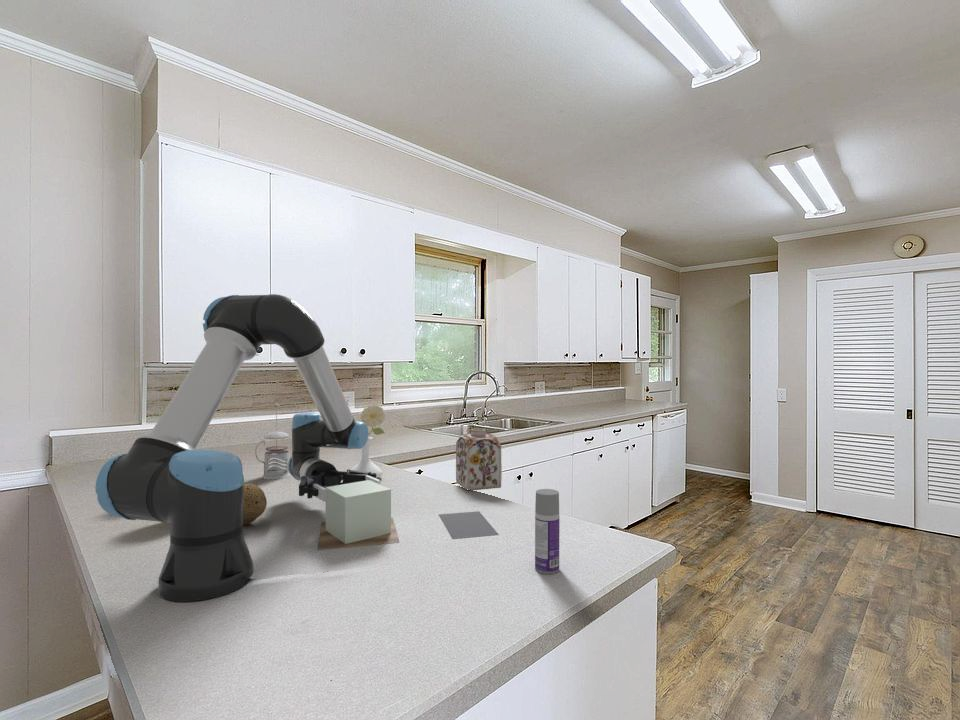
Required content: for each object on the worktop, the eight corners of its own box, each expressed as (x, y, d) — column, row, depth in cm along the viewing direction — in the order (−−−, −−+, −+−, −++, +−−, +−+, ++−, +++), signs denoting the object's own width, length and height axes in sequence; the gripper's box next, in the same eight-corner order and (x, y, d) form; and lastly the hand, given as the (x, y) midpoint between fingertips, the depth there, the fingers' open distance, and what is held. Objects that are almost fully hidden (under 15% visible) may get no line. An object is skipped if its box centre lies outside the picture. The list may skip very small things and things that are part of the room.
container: (556, 564, 100) (557, 488, 100) (561, 574, 95) (561, 495, 95) (533, 564, 100) (533, 488, 100) (536, 574, 95) (537, 495, 95)
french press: (292, 478, 170) (292, 404, 170) (254, 481, 166) (254, 405, 166) (291, 471, 180) (291, 401, 179) (255, 474, 175) (255, 402, 175)
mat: (498, 536, 115) (498, 534, 115) (411, 545, 110) (411, 542, 110) (479, 513, 132) (479, 511, 132) (402, 519, 127) (402, 517, 127)
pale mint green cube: (391, 532, 115) (391, 489, 115) (345, 544, 108) (345, 497, 108) (369, 520, 124) (369, 480, 124) (325, 530, 117) (325, 487, 117)
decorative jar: (455, 482, 165) (455, 427, 165) (488, 479, 169) (488, 425, 169) (467, 491, 154) (467, 432, 154) (502, 488, 158) (502, 430, 158)
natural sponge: (275, 522, 124) (275, 482, 124) (242, 533, 117) (242, 490, 117) (252, 516, 129) (252, 478, 129) (219, 527, 121) (219, 485, 121)
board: (399, 546, 109) (399, 542, 109) (317, 553, 105) (317, 549, 105) (392, 520, 127) (392, 516, 127) (321, 525, 122) (321, 522, 122)
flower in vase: (341, 482, 165) (341, 405, 165) (357, 474, 176) (357, 402, 176) (378, 484, 162) (378, 406, 162) (392, 476, 173) (392, 403, 173)
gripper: (361, 480, 145) (398, 497, 128) (271, 496, 129) (300, 516, 112) (361, 454, 144) (398, 467, 128) (271, 466, 129) (300, 482, 112)
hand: (353, 490), depth 120 cm, fingers open, 13 cm apart
